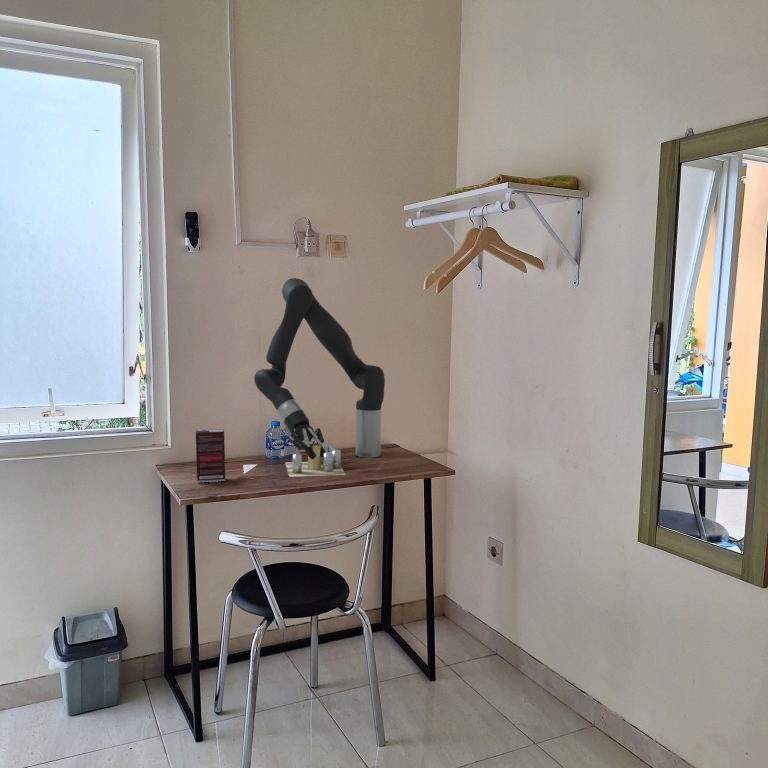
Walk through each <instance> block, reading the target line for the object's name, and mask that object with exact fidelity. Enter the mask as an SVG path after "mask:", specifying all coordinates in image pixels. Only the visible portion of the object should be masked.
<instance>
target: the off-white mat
mask: <svg viewBox="0 0 768 768" xmlns="http://www.w3.org/2000/svg"><path fill="white" fill-rule="evenodd" d="M258 465H259V464H254V463H253V464H243V466H242V467H243V469H242V470H243V471H244V472H243V474H244V475H245V474H246V473H247V472H249V471H251V470H252V469H253V468H255V467H256V466H258Z"/></svg>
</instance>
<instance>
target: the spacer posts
mask: <svg viewBox="0 0 768 768" xmlns="http://www.w3.org/2000/svg"><path fill="white" fill-rule="evenodd" d="M322 447H323V448H324V450H325V451H326V452H325V453H323V457H321V464H323V472H332V471H333V469H340V468H341V467H342V466H341V461H342V459H341V457H342V456H341V455H342V454H341V453H342V452H341V451H342V450H341V449H337V447H336V446H335V445H327V444H324V443H322ZM292 462H293V473H294V474H300V473H302V462H303V453H299V452H298V453H297V452H296V453H292Z"/></svg>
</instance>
